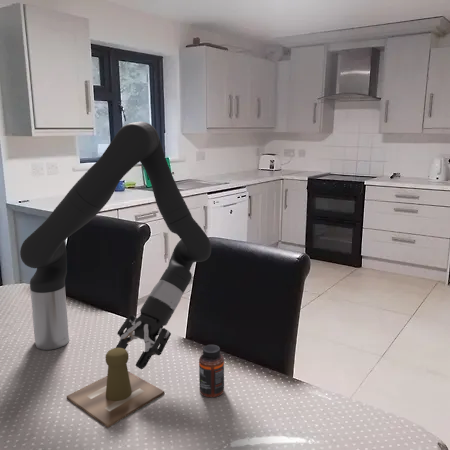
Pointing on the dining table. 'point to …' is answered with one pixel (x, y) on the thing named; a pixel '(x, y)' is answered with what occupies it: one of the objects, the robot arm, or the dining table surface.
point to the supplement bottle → (211, 371)
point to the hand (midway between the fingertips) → (127, 361)
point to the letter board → (114, 410)
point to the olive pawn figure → (117, 375)
